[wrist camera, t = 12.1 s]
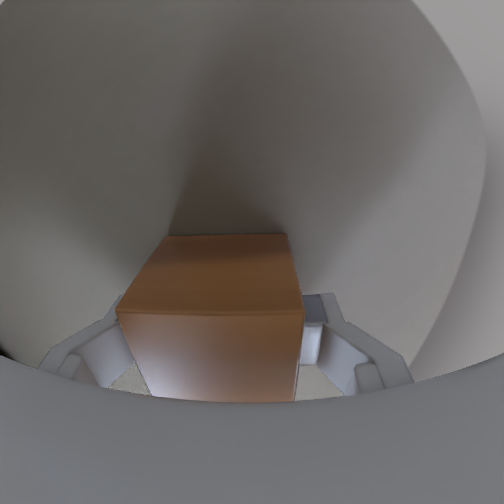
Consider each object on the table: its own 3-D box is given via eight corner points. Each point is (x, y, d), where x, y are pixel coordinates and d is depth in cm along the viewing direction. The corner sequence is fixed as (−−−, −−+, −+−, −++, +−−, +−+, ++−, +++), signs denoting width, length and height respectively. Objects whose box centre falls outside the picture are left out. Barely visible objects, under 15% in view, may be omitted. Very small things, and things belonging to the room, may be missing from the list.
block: (164, 235, 10) (112, 309, 6) (286, 232, 10) (306, 310, 6) (182, 328, 12) (158, 410, 8) (283, 328, 12) (292, 416, 8)
